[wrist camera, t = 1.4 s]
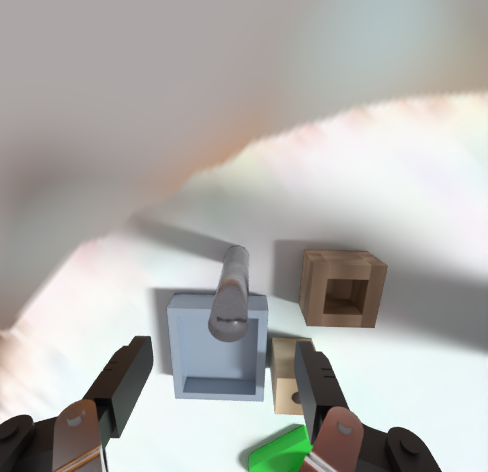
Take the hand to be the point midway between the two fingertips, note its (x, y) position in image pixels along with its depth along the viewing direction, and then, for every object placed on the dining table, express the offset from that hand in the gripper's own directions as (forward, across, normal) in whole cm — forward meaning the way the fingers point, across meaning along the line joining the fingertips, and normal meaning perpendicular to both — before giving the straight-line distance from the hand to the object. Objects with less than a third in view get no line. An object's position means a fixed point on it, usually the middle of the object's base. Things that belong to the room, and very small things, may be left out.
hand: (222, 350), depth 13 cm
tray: (+14, +2, +12) cm, 18 cm away
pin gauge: (+14, 0, 0) cm, 14 cm away
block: (+14, -7, +14) cm, 21 cm away
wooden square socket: (+14, -11, +3) cm, 18 cm away
